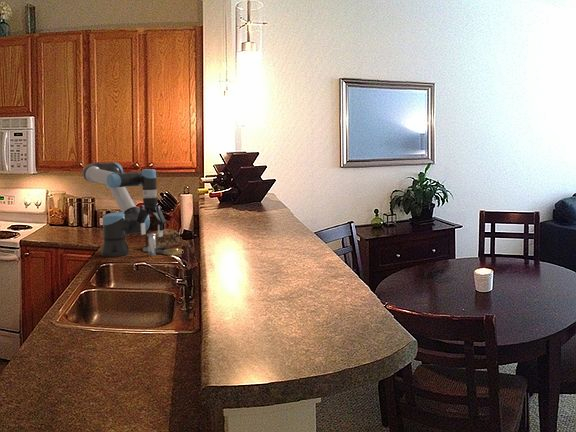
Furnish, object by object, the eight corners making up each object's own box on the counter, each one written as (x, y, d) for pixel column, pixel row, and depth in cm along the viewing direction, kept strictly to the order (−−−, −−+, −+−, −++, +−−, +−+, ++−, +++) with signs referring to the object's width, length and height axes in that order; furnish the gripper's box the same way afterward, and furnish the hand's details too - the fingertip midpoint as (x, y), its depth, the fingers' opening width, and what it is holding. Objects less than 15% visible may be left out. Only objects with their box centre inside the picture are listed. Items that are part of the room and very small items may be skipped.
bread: (169, 243, 341) (168, 227, 340) (180, 245, 335) (180, 228, 333) (144, 247, 327) (144, 231, 325) (156, 249, 320) (155, 233, 319)
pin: (146, 255, 303) (145, 234, 301) (152, 254, 307) (151, 233, 305) (152, 256, 300) (151, 234, 299) (158, 254, 304) (157, 233, 303)
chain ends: (143, 251, 315) (142, 246, 314) (153, 249, 321) (153, 244, 321) (173, 255, 302) (173, 250, 301) (183, 253, 308) (183, 248, 308)
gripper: (129, 197, 303) (131, 234, 305) (161, 198, 289) (163, 238, 292) (139, 196, 309) (141, 232, 312) (171, 197, 296) (173, 236, 298)
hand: (151, 235), depth 302 cm, fingers open, 13 cm apart
